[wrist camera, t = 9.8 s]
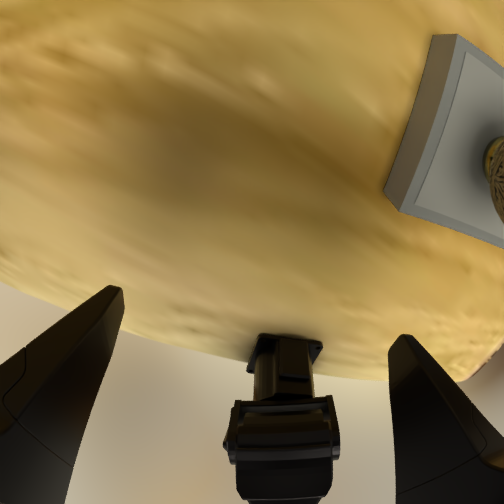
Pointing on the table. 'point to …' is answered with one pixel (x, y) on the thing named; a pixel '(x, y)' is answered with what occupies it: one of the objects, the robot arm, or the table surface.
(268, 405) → the robot arm
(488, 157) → the cup
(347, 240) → the table surface
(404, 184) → the slate base
